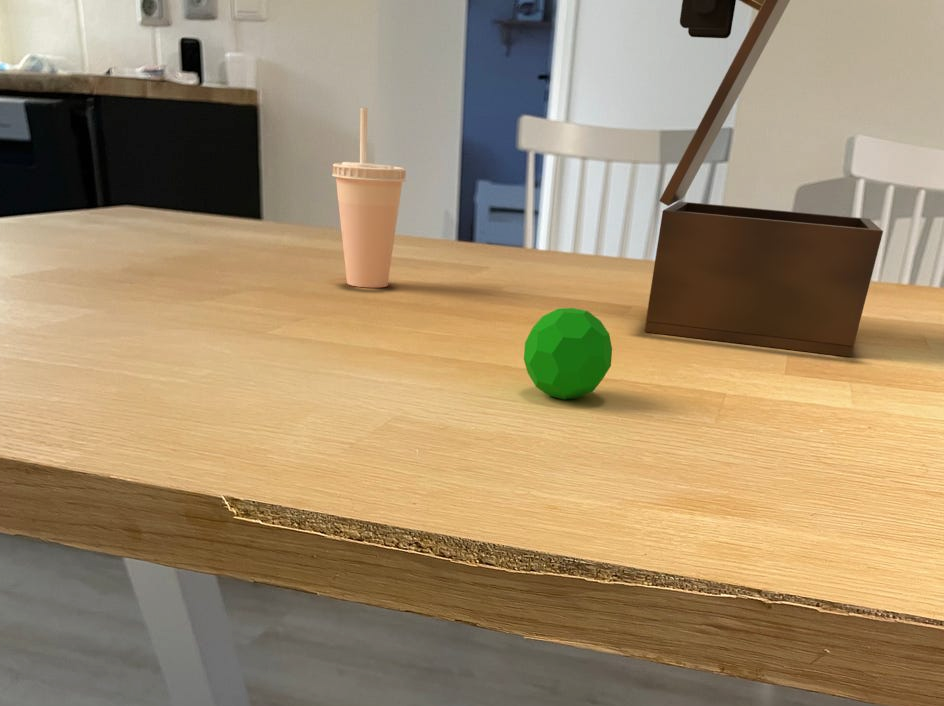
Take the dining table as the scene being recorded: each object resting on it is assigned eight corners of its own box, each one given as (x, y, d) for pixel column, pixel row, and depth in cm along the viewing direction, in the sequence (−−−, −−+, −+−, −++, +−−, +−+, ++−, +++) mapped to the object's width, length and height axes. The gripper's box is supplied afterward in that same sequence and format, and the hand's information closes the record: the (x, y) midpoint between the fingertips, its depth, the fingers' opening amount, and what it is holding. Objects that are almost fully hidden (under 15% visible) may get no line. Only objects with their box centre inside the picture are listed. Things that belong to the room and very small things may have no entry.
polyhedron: (535, 380, 58) (544, 299, 56) (614, 392, 57) (625, 310, 54) (509, 398, 54) (517, 311, 52) (593, 412, 53) (605, 323, 50)
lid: (798, -15, 72) (736, -49, 72) (800, -42, 62) (728, -82, 62) (683, 197, 81) (628, 167, 81) (668, 206, 70) (605, 170, 70)
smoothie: (341, 276, 90) (342, 106, 83) (408, 282, 89) (414, 112, 82) (323, 285, 84) (323, 105, 77) (394, 292, 83) (400, 110, 77)
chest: (842, 329, 82) (869, 218, 78) (850, 357, 71) (883, 230, 67) (661, 308, 85) (678, 201, 81) (644, 332, 75) (662, 210, 71)
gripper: (819, -358, 53) (754, 22, 62) (811, -250, 68) (759, 45, 77) (684, -351, 55) (639, 18, 64) (705, -247, 70) (666, 41, 78)
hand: (705, 30), depth 70 cm, fingers closed on lid, 6 cm apart
